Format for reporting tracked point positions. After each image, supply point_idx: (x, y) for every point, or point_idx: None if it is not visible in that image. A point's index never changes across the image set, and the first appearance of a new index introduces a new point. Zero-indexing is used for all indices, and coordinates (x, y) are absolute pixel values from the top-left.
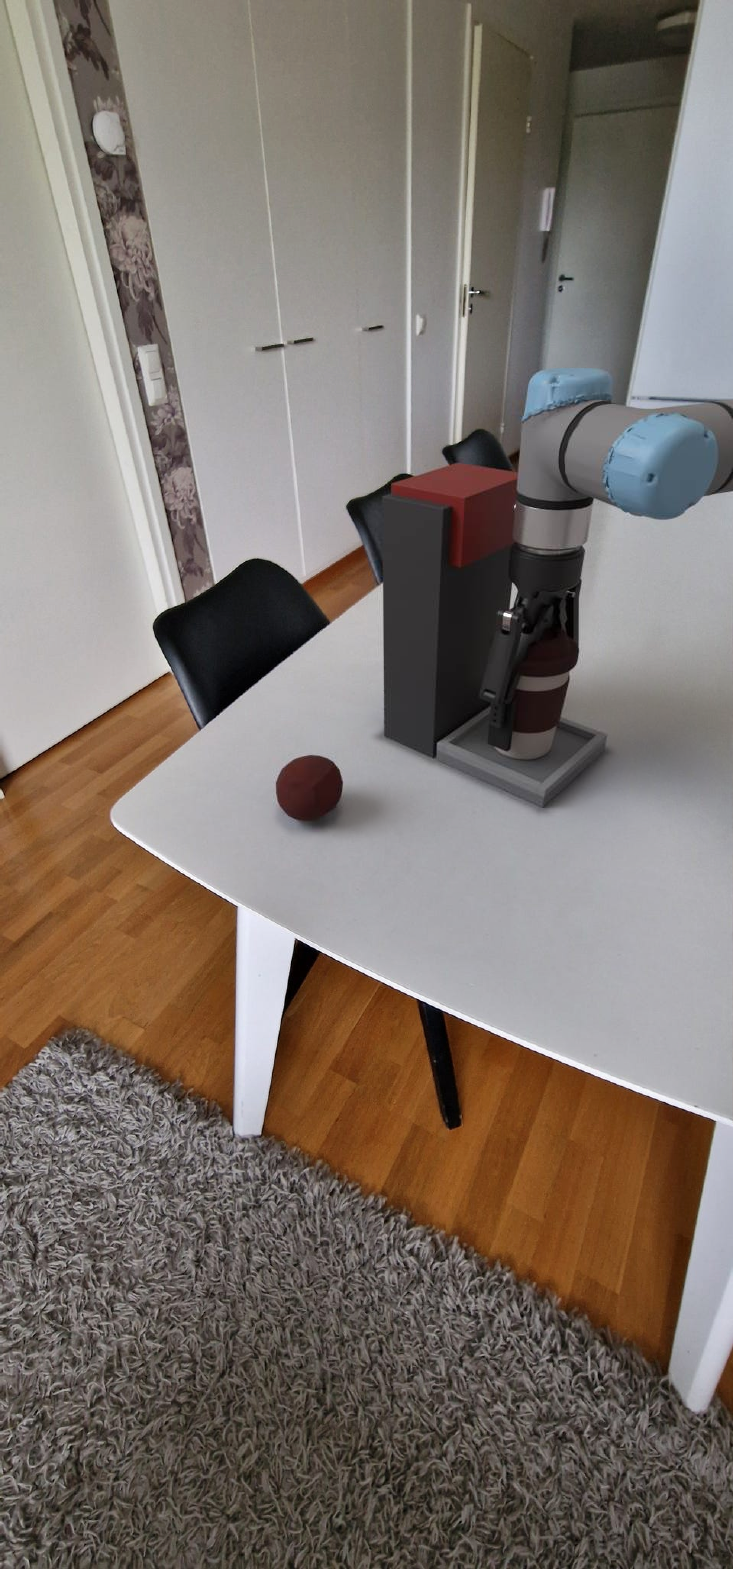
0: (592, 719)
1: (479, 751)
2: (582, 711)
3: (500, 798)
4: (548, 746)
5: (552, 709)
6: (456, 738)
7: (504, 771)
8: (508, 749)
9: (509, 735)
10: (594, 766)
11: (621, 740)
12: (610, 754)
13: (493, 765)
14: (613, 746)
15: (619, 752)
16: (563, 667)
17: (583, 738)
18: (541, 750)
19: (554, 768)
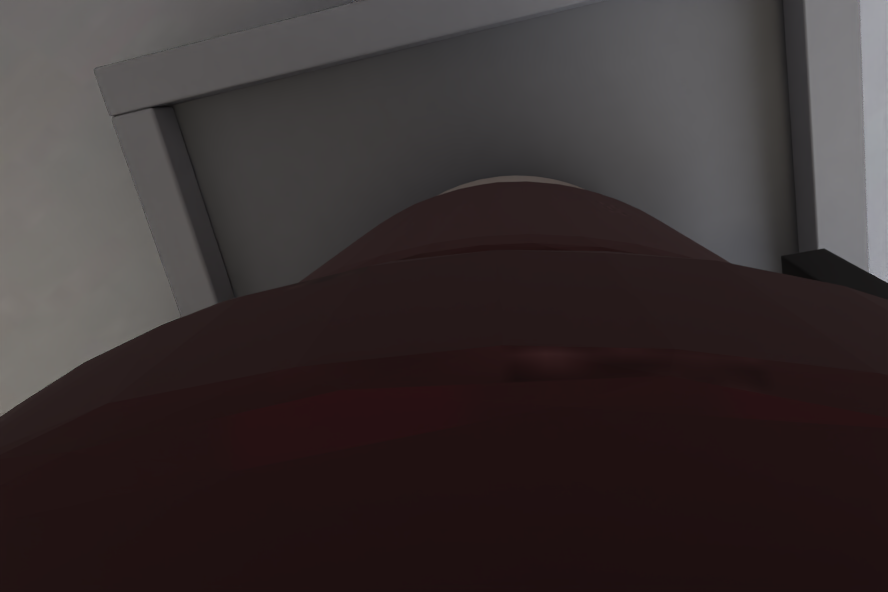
0: (10, 292)
1: None
2: (7, 364)
3: (878, 112)
4: (487, 181)
5: (573, 204)
6: None
7: (858, 179)
8: (810, 254)
9: (879, 285)
10: (290, 4)
11: (10, 79)
12: (144, 27)
13: (850, 258)
14: (81, 68)
15: (92, 10)
16: (767, 314)
17: (204, 164)
18: (546, 181)
19: (548, 63)
